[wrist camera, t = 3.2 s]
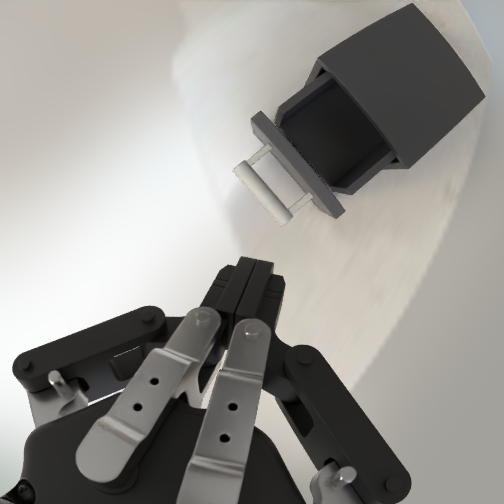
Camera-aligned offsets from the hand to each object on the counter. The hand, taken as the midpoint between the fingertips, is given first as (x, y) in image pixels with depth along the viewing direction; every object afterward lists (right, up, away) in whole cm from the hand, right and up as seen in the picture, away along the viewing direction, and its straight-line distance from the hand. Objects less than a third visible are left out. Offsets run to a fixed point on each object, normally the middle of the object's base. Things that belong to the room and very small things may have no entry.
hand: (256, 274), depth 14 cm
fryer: (+15, +20, +16) cm, 30 cm away
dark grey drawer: (+7, +13, +17) cm, 23 cm away
